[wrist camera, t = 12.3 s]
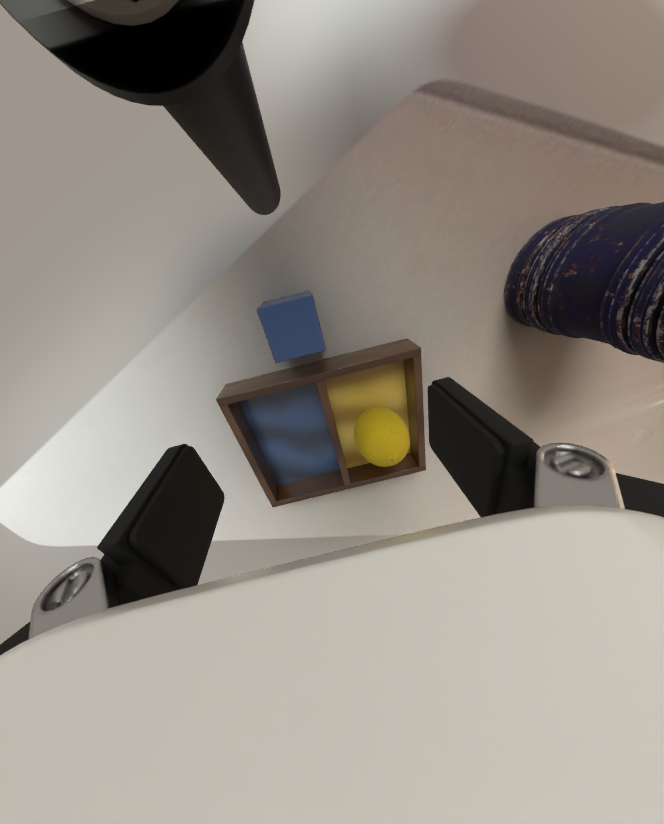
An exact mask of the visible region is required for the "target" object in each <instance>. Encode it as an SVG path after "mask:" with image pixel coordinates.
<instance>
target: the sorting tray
mask: <svg viewBox="0 0 664 824" xmlns="http://www.w3.org/2000/svg"><path fill="white" fill-rule="evenodd" d="M216 400H217V402H218V404H219V406H220V408H221V410H222V412H223V414H224V416H225V418H226V420H227V422H228V423H229V425H230V427H231V429H232V431H233V433H234V435H235V437H236V439H237V441H238V442H239V444H240V446H241V448H242V450H243V452H244V454H245V456H246V458H247V460H248V461H249V463H250V465H251V467H252V469H253V471H254V473H255V475H256V477H257V479H258V480H259V482H260V484H261V486H262V488H263V490H264V492H265V494H266V496H267V498H268V500H269V501H270V503H271V505H272V507H276V506H280V505H285V504H289V503H293V502H297V501H301V500H305V499H309V498H313V497H317V496H321V495H325V494H330V493H334V492H338V491H342V490H346V489H350V488H354V487H358V486H362V485H366V484H371V483H375V482H379V481H383V480H387V479H391V478H395V477H399V476H403V475H407V474H411V473H416V472H420V471H424V470H426V463H425V438H424V414H423V390H422V365H421V348H420V347H419V346H417V345H416V344H414V343H413V342H411V341H410V340H408V339H403V340H399V341H395V342H391V343H387V344H383V345H380V346H376V347H372V348H368V349H364V350H360V351H356V352H352V353H348V354H344V355H340V356H336V357H332V358H328V359H324V360H321V361H317V362H313V363H309V364H305V365H301V366H297V367H293V368H289V369H285V370H281V371H277V372H273V373H269V374H266V375H262V376H258V377H254V378H250V379H246V380H242V381H238V382H234V383H230V384H226V385H225V386H224V388H223V390H222V391H221V393H220V394H219V396H218V397H217V399H216ZM374 407H384V408H388V409H390V410H392V411H394V412H395V413H397V414H398V415H399V417H400V418H401V419H402V420H403V421H404V423H405V425H406V427H407V430H408V433H409V440H410V445H409V450H408V452H407V454H406V456H405V457H404V458H403V459H402V460H401V461H400V462H399V463H397V464H395V465H392V466H388V467H382V466H377V465H374V464H372V463H370V462H369V461H367V460H366V459H365V458H364V456H363V455H362V454H361V453H360V451H359V450H358V447H357V445H356V442H355V439H354V428H355V423H356V421H357V419H358V417H359V416H360V415H361V414H362V413H363V412H365V411H366V410H368V409H370V408H374Z"/></svg>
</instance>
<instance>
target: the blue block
mask: <svg viewBox="0 0 664 824" xmlns="http://www.w3.org/2000/svg"><path fill="white" fill-rule="evenodd" d="M257 312H258V315H259V318H260V320H261V323H262V326H263V329H264V332H265V334H266V337H267V340H268V343H269V346H270V348H271V351H272V354H273V357H274V360H275V362H276V363H277V362H281V361H285V360H289V359H293V358H297V357H301V356H305V355H309V354H313V353H317V352H321V351H324V350H326V349H325V345H324V341H323V337H322V333H321V329H320V324H319V320H318V316H317V312H316V308H315V304H314V300H313V295H312V293H311V291H306V292H302V293H298V294H294V295H290V296H287V297H283V298H279V299H275V300H271V301H267V302H264V303H263V304H262V305H261V306H260V307H259V308H258V309H257Z"/></svg>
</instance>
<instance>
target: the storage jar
mask: <svg viewBox="0 0 664 824" xmlns="http://www.w3.org/2000/svg"><path fill="white" fill-rule="evenodd" d="M504 298H505V305H506V308H507V311H508V313H509V314H510V316H511V317H512V318H513V319H514V320H515V321H516V322H518V323H519V324H522V325H525V326H529V327H534V328H537V329H538V330H541V331H544V332H547V333H551V334H556V335H564V336H568V337H573V338H588V339H592V340H596V341H600V342H604V343H608V344H610V345H612V346H613V347H614V348H617V349H619V350H622V351H623V352H626V353H628V354H633V355H641V356H643V357H645V358H648V359H651V360H655V361H659V362H663V363H664V202H662V203H657V204H651V203H635V204H630V205H624V206H612V207H607V208H602V209H597V210H592V211H589V212H587V213H584V214H580V215H574V216H569V217H564V218H560V219H558V220H555V221H553V222H551V223H550V224H548V225H546V226H545V227H543V228H542V229H541V230H539V231H538V232H537V233H536V234H535V235H533V236H532V237H531V238H530V239H529V240H528V242H527V243H526V244H525V245H524V246H523V248H522V249H521V250H520V252H519V253H518V255H517V256H516V258H515V260H514V262H513V264H512V266H511V268H510V271H509V273H508V276H507V280H506V285H505V296H504Z"/></svg>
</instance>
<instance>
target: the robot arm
mask: <svg viewBox="0 0 664 824" xmlns="http://www.w3.org/2000/svg"><path fill="white" fill-rule="evenodd" d="M68 1H69V2H70V3H72V4H73V5H75V6H77V7H78V8H80V9H82V10H83V11H85V12H86V13H88V14H90V15H91V16H93V17H96V18H99V19H102V20H104V21H107V22H110V23H112V24H118V25H128V26H136V25H142V24H147V23H151V22H153V21H155V20H157V19H158V18H160V17H162V16H164V15H165V14H167V13H168V12H169V11H170V10H171V9H172V8H173V7H174V6H175V4H176V3H177V2H178V1H179V0H138V1H137V2H136V0H68ZM428 419H429V443H430V446H431V448H432V450H433V451H434V453H435V454H436V455H437V457H438V458H439V460H440V461H441V462H442V464H443V465H444V467H445V468H446V469H447V471H448V472H449V474H450V475H451V476H452V478H453V479H454V480H455V482H456V483H457V485H458V486H459V487H460V489H461V490H462V492H463V493H464V494H465V496H466V497H467V499H468V500H469V501H470V503H471V504H472V506H473V507H474V508H475V510H476V511H477V512H478V514H479V515H480V516H481V518H477V519H472V520H468V521H463V522H458V523H454V524H449V525H445V526H440V527H436V528H432V529H428V530H423V531H419V532H415V533H411V534H407V535H402V536H398V537H394V538H390V539H386V540H381V541H377V542H373V543H369V544H364V545H360V546H356V547H352V548H348V549H344V550H340V551H335V552H331V553H327V554H323V555H319V556H315V557H310V558H307V559H303V560H298V561H294V562H290V563H286V564H282V565H278V566H274V567H270V568H265V569H261V570H257V571H253V572H249V573H245V574H241V575H237V576H233V577H229V578H225V579H221V580H217V581H213V582H209V583H205V584H201V585H197V584H198V581H199V578H200V575H201V572H202V569H203V566H204V562H205V559H206V556H207V553H208V550H209V547H210V544H211V541H212V537H213V534H214V531H215V528H216V525H217V522H218V519H219V515H220V512H221V509H222V506H223V503H224V493H223V491H222V490H221V488H220V487H219V485H218V484H217V482H216V481H215V479H214V478H213V476H212V475H211V473H210V472H209V470H208V469H207V467H206V466H205V464H204V463H203V461H202V460H201V458H200V457H199V455H198V454H197V452H196V451H195V449H194V448H193V447H191V446H188V445H187V444H182V445H178V446H174V447H171V448H168V449H167V450H166V452H165V453H164V455H163V456H162V457H161V459H160V460H159V462H158V463H157V464H156V466H155V467H154V469H153V470H152V471H151V473H150V474H149V476H148V477H147V478H146V480H145V481H144V483H143V484H142V485H141V487H140V488H139V489H138V491H137V492H136V494H135V495H134V496H133V498H132V499H131V501H130V502H129V503H128V505H127V506H126V508H125V509H124V510H123V512H122V513H121V515H120V516H119V517H118V519H117V520H116V522H115V523H114V524H113V526H112V527H111V529H110V530H109V531H108V533H107V534H106V536H105V537H104V538H103V540H102V541H101V543H100V544H99V545H98V547H97V548H98V549H99V550H100V551H101V552H103V553H104V556H103V557H102V559H101V560H99V559H98V558H95V557H90V558H86V559H83V560H81V561H78V562H76V563H75V564H73V565H71V566H70V567H68V568H67V569H66V570H64V571H63V572H61V573H60V574H59V575H58V576H56V577H55V579H53V580H52V581H51V582H50V583H49V584H48V585H47V586H46V588H45V589H44V590H43V591H42V592H41V593H40V595H39V597H38V598H37V600H36V601H35V603H34V606H33V609H32V613H31V621H30V622H29V623H28V624H26V625H25V626H24V627H23V628H21V629H20V630H19V631H18V632H16V633H15V634H14V635H12V636H11V637H10V638H8V639H7V640H6V641H4V642H3V643H2V644H1V645H0V824H664V484H662V483H657V482H653V481H648V480H644V479H640V478H635V477H631V476H626V475H622V474H617V473H615V470H614V468H613V466H612V464H611V462H610V461H608V460H607V459H606V458H605V457H604V456H602V455H601V454H599V453H597V452H595V451H594V450H591V449H588V448H586V447H583V446H579V445H574V444H569V443H551V444H547V445H544V446H542V447H540V446H538V445H537V444H536V443H534V442H533V439H532V438H530V437H529V436H527V435H526V434H525V433H523V432H522V431H521V430H519V429H518V428H517V427H515V426H514V425H513V424H511V423H510V422H509V421H507V420H506V419H505V418H503V417H502V416H501V415H499V414H498V413H497V412H495V411H494V410H493V409H491V408H490V407H489V406H487V405H486V404H485V403H483V402H482V401H481V400H479V399H478V398H477V397H475V396H474V395H473V394H471V393H470V392H469V391H467V390H466V389H465V388H463V387H462V386H461V385H459V384H458V383H457V382H455V381H454V380H453V379H451V378H450V377H446V378H443V379H439V380H435V381H433V382H432V385H430V386H428Z"/></svg>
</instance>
